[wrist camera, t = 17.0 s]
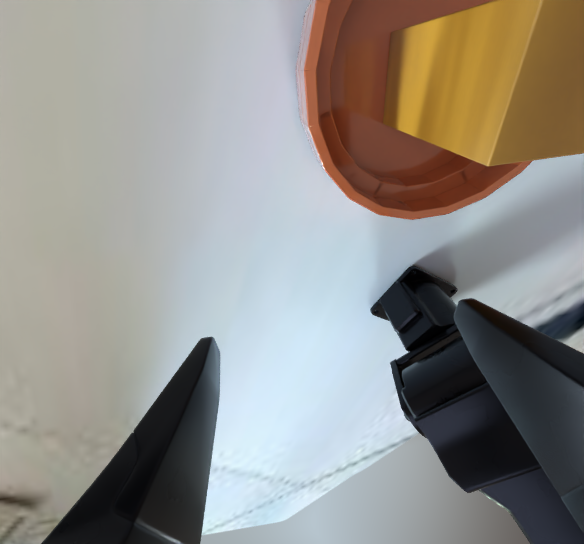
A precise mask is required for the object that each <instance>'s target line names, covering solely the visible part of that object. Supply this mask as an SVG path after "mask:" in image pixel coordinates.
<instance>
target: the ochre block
mask: <svg viewBox="0 0 584 544" xmlns="http://www.w3.org/2000/svg"><path fill="white" fill-rule="evenodd" d="M383 124H384V125H387V126H389V127H392V128H394V129H397V130H399V131H402V132H404V133H407V134H409V135H412V136H414V137H416V138H419V139H421V140H424V141H426V142H429V143H431V144H434V145H436V146H439V147H441V148H444V149H446V150H449V151H451V152H453V153H456V154H458V155H461V156H463V157H466V158H468V159H471V160H473V161H476V162H478V163H481V164H483V165H486V166H495V165H503V164H510V163H517V162H524V161H532V160H539V159H546V158H553V157H561V156H568V155H575V154H582V153H584V0H493V1H489V2H486V3H483V4H480V5H477V6H473V7H470V8H467V9H464V10H460V11H457V12H454V13H451V14H448V15H444V16H441V17H438V18H435V19H431V20H428V21H425V22H422V23H419V24H415V25H412V26H409V27H406V28H403V29H399V30H396V31H393V32H391V36H390V48H389V59H388V70H387V82H386V93H385V104H384V116H383Z"/></svg>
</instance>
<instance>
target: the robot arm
mask: <svg viewBox="0 0 584 544" xmlns="http://www.w3.org/2000/svg"><path fill="white" fill-rule="evenodd" d="M412 271H413V272H412ZM456 292H457V288H456V287H455V286H454V285H453V284H450V283H448V282H446V281H444V280H442V279H440V278H438V277H436V276H434V275H432V274H430V273H428V272H426V271H424V270H422V269H420V268H418V267H416V266H411V267H409V268H408V269H407V270H406V271H405V272H404V273H403V274H402V275H401V276H400V278H399V279H398V280H397V281H396V282H395V283H394V284H393V285H392V286H391V287H390V288H389V289H388V290H387V291H386V293H385V294H384V295H383V296H382V297H381V298H380V299H379V300H378V301H377V302H376V303H375V304H374V305H373V306H372V308H371V309H370V311H371V313H372V314H373V315H375V316H377V317H380V318H383V319H385V320H388V321H390V322H391V324H392V326H393V328H394V330H395V331H396V332H397V334H398V336H399V338H400V340H401V341H402V343H403V345H404V347H405V349H406V350H407V351H408V353H407V354H405V355H404V356H402V357H400V358H399V359H397V360H396V359H395V360H393V361H392V362H390V364H391V368H392V374H393V378H394V382H395V385H396V389H397V393H398V397H399V401H400V405H401V408H402V410H403V412H404V415H405V417H406V419H407V420H408V421H410V422H411V423H412V424H413V426H414V427H415V428H416V429H417V431H418V432H419V433H420V434H421V435H422V436H424V437H425V438H427V439H428V440H429V442H430V443H431V445H432V447H433V448H434V450H435V452H436V453H437V455H438V457H439V459H440V461H441V462H442V464H443V466H444V468H445V470H446V472H447V473H448V475H449V477H450V478H451V479H452V480H453V481H454V482H455V483H456V484H458V485H459V486H460V487H461V488H462V489H463V490H464V491H466V492H467V493H471V492H474V491H477V490H479V491H480V492H482V493H483V494H484V495H486V496H487V497H489V498H490V499H491V500H493V501H495V502H496V503H497V504H498V505H500V506H501V507H503V508H504V509H506V510H507V511H508V512H509V513H510V515H511V516H512V517H513V519H514V520H515V522H516V523H517V524H518V526H519V527H520V529H521V530H522V532H523V533H524V535H525V536H526V538H527V539H528V541H529V542H530V544H584V354H583V353H581V352H579V351H577V350H575V349H573V348H571V347H569V346H567V345H565V344H563V343H561V342H559V341H557V340H555V339H553V338H551V337H549V336H547V335H545V334H543V333H541V332H539V331H537V330H535V329H533V328H531V327H529V326H527V325H525V324H523V323H521V322H519V321H517V320H515V319H513V318H511V317H509V316H507V315H505V314H503V313H501V312H499V311H497V310H495V309H493V308H491V307H489V306H487V305H485V304H483V303H481V302H479V301H477V300H475V299H472V298H469V299H462V300H460V301H459V303H458V305H456V304H455V303H454V302H453V301H452V300H451V297H452V296H453V295H454V294H455V293H456ZM375 310H376V311H375ZM219 394H220V351H219V349H218V346H217V344H216V342H215V339H214V338H213V337H206V338H202V339H200V341H199V342H198V343H197V345H196V346H195V347H194V349H193V350H192V351H191V353H190V354H189V356H188V357H187V358H186V360H185V361H184V362H183V364H182V365H181V366H180V368H179V369H178V371H177V372H176V373H175V375H174V376H173V377H172V379H171V380H170V382H169V383H168V384H167V386H166V387H165V388H164V390H163V391H162V392H161V394H160V395H159V397H158V398H157V399H156V401H155V402H154V403H153V405H152V406H151V407H150V409H149V410H148V412H147V413H146V414H145V416H144V417H143V418H142V420H141V421H140V422H139V424H138V425H137V427H136V428H135V429H134V433H131V435H130V436H129V437H128V439H127V440H126V441H125V443H124V444H123V445H122V447H121V448H120V449H119V451H118V452H117V453H116V455H115V456H114V457H113V459H112V460H111V461H110V463H109V464H108V465H107V466H106V468H105V469H104V470H103V471H102V472H101V474H100V475H99V476H98V477H97V478H96V480H95V481H94V482H93V483H92V485H91V486H90V487H89V488H88V489H87V490H86V492H85V493H84V494H83V495H82V496H81V498H80V499H79V500H78V501H77V502H76V503H75V505H74V506H73V507H72V508H71V509H70V511H69V512H68V513H67V514H66V515H65V516H64V518H63V519H62V520H61V521H60V522H59V524H58V525H57V526H56V527H55V528H54V529H53V531H52V532H51V533H50V534H49V535H48V536H47V538H46V539H45V540H44V541H43V542H42V543H41V544H200V541H201V534H202V526H203V519H204V511H205V504H206V496H207V489H208V481H209V474H210V466H211V458H212V451H213V443H214V436H215V428H216V421H217V413H218V406H219Z"/></svg>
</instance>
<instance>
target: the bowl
mask: <svg viewBox="0 0 584 544" xmlns="http://www.w3.org/2000/svg"><path fill="white" fill-rule="evenodd" d="M489 1H493V0H310V2H309V5H308V7H307V9H306V12H305V15H304V22H303V28H302V34H301V40H300V46H299V52H298V59H297V65H296V70H297V71H296V80H297V91H298V102H299V113H300V118H301V122H302V125H303V127H304V130H305V133H306V135H307V138H308V140H309V143H310V145H311V148H312V151H313V153H314V155H315V157H316V158H317V160H318V161H319V163H320V164H321V166H322V167H323V169H324V170H325V171H326V173H327V174H328V175H329V176H330V177H331V178H332V180H333V181H334V182H335V183H336V184H337V186H338V187H339V188H340V189H341V190H342V192H343V193H344V194H345V195H346V196H347V197H348V198H349V199H350V200H352V201H354V202H356V203H358V204H359V205H361V206H363V207H365V208H367V209H368V210H370V211H372V212H374V213H376V214H378V215H383V216H390V217H397V218H403V219H410V220H411V219H412V220H413V219H420V218H426V217H432V216H439V215H445V214H449V213H451V212H453V211H456V210H458V209H460V208H463V207H465V206H467V205H470V204H472V203H474V202H477V201H479V200H481V199H484V198H486V197H487V196H488V195H490V194H491V193H493V192H494V191H495V190H497V189H498V188H500V187H501V186H503V185H504V184H505V183H507V182H508V181H510V180H511V179H513V178H514V177H515V176H517V175H518V174H520V173H521V172H522V171H523V170H524V169H525V168H526V167H527V166H528V165H529V164H530V163H531V162H532V161H533V160H532V161H524V162H517V163H510V164H503V165H495V166H486V165H483V164H481V163H478V162H476V161H473V160H471V159H468V158H466V157H463V156H461V155H458V154H456V153H453V152H451V151H449V150H446V149H444V148H441V147H439V146H436V145H434V144H431V143H429V142H426V141H424V140H421V139H419V138H416V137H414V136H412V135H409V134H407V133H404V132H402V131H399V130H397V129H394V128H392V127H389V126H387V125H384V124H383V116H384V104H385V93H386V82H387V70H388V59H389V48H390V36H391V32H393V31H396V30H399V29H403V28H406V27H409V26H412V25H415V24H419V23H422V22H425V21H428V20H431V19H435V18H438V17H441V16H444V15H448V14H451V13H454V12H457V11H460V10H464V9H467V8H470V7H473V6H477V5H480V4H483V3H486V2H489Z"/></svg>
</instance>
